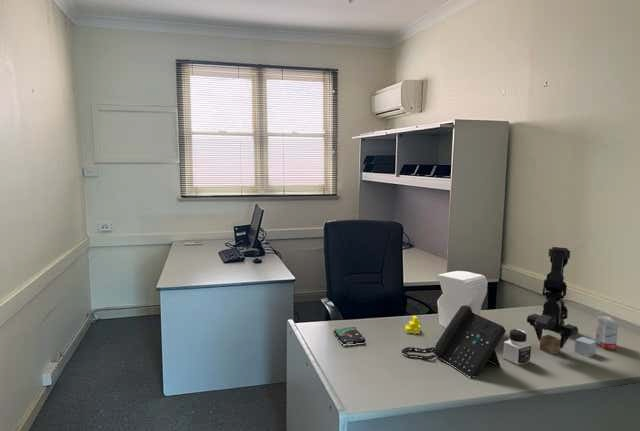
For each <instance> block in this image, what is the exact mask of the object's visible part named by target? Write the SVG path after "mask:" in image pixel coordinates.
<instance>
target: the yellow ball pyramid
mask: <svg viewBox="0 0 640 431" xmlns="http://www.w3.org/2000/svg"><path fill="white" fill-rule="evenodd" d="M420 325H422V323H421V321H420V320H419V318H418V317H417V316H416V315H413V316H412V317H411V320H410V321H409V322H408V323H407V324H406V325H405V327H404V332H405V331H406V332H409V331H411V332H413V333H416V332H420V333H421V331H420V329H421V330H422V327H421V326H420Z"/></svg>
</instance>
